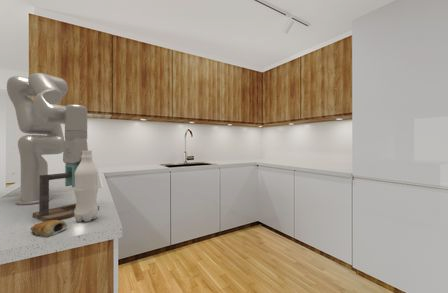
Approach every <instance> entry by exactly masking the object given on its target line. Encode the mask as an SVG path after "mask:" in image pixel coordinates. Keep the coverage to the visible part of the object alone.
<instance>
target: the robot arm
mask: <svg viewBox="0 0 448 293" xmlns="http://www.w3.org/2000/svg"><path fill="white" fill-rule="evenodd" d="M68 91H69V86H68V83H67V81H65V79H63V78H61V77H57V76H53V75H51V74H47V73H43V72H35V73H31V74H30V75H29V76H28V77H26V76H19V75H17V76H16V75H15V76H11V77H9V78H8V80H7V82H6V92H7V95H8V97H9V99H10V101H11V103H12V105H13V107H14V110H15V115H16V119H17V125H18V128H19V130H20V131H21V132H22V133H24V134H26V135H22V136H21V137H19V139H18V140H17V147H18V153H19V157H20V158H19V159H20V160H19V161H20V198H19V199H17V200H15V205H21V206H22V205H23V206H24V205H33V204H39V186H40V175H49V174H48V172H49V169H48V167H49V165H48V161H47V160H46V159H45V157H43V156H45V155H47V156H48V155H59V154H62V162H63V163H64V164H77V167H78V166H79V164H80V162H81V159H82V157H81V156H82V151H89V149H88V109H87V107H86V106H85V105H82V104H74V103H73V104H67V105H62V104H61V105H59V103H60V102H61V101H62V100H63V96H65V95H66V94H68ZM31 97H33V98H34V99H31ZM61 124H62V125H64V133H63V129H62V125H61ZM27 134H28V135H27ZM52 199H53V198H52V196H51V195H49V201H51V200H52Z"/></svg>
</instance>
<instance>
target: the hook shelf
mask: <svg viewBox="0 0 448 293" xmlns="http://www.w3.org/2000/svg"><path fill="white" fill-rule="evenodd" d="M71 177H72V172H71V173H65V172H63V173H54V174H53V173H52V174H51V173H50V174H48V175H40V186H39V203H38V204H39V205H38V206H39V208H38V209H39V211H35V212H32V214H31V215H32V218H35V219H37V220H39V221H43V222H46V221H50V220H58V221H64V220H66V219H71V218H75V216H74V211H75V207H76V202H75V203H72V204H67V205H62V206H58V207H57V206H56V207H54V208H50V200H49V196H50V181H51V180H52V181H53V180H61V179H65V178H71ZM97 207H98V211H100V205H97ZM70 210H71V211H70Z"/></svg>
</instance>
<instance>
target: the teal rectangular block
mask: <svg viewBox="0 0 448 293" xmlns="http://www.w3.org/2000/svg"><path fill="white" fill-rule="evenodd" d="M64 165H65V166H64V167H65V171H64V173H71V172H72V177H71V178H64V180H65V181H64V186H65V187H71V188H75V171H76V169H77V164H66V163H64Z"/></svg>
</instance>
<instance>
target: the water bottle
mask: <svg viewBox="0 0 448 293" xmlns="http://www.w3.org/2000/svg"><path fill="white" fill-rule="evenodd" d="M81 157H82V159H81V162H80V164H79V166H78V167H77V169H76V171H75V187H74V190H73V192H74V195H75V203H76V207H75V209H74V210H73V211H74V219H75V220H76V222H78V223H81V222H82V221H84V222H86V223H87V222H91V221H92V220H95V219H97V217H98V214H99V210H98V207H97V206H98V203H97V201H98V200H97V198H98V192H99V182H98V181H99V170H98V168H97V166H96V165H95V162H93V154H92V150H88V151H82V156H81Z"/></svg>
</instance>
